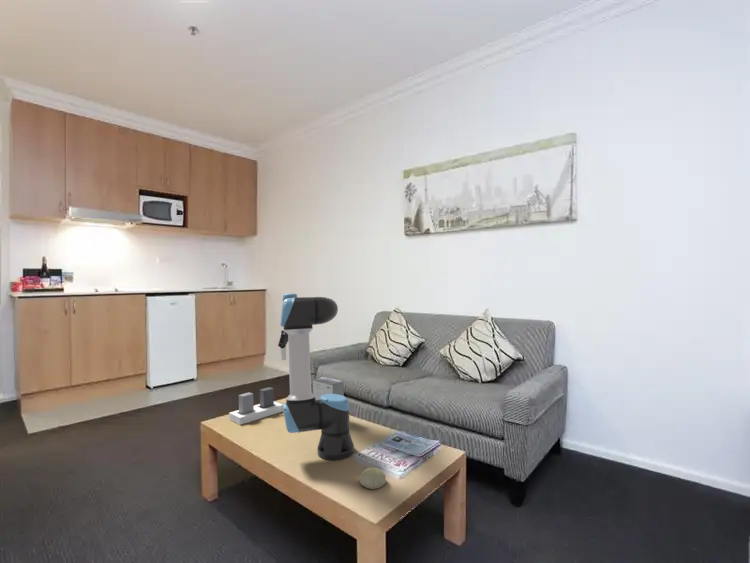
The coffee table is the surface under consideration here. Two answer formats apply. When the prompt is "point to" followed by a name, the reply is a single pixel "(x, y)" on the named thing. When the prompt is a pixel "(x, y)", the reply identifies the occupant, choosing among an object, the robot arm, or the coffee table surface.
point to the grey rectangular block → (266, 397)
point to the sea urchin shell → (372, 478)
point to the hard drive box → (327, 387)
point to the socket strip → (255, 414)
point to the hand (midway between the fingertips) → (291, 361)
